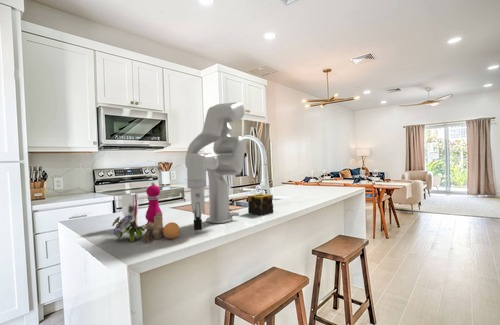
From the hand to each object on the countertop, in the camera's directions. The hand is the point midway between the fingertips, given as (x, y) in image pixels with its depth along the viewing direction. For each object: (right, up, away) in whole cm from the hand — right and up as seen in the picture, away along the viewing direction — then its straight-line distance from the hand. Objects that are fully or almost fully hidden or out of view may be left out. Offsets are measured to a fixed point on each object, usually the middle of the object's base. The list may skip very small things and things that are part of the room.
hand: (197, 229), depth 105 cm
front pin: (-11, -1, -3) cm, 11 cm away
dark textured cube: (+27, -1, +38) cm, 46 cm away
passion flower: (-25, -2, -6) cm, 26 cm away
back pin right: (-15, -2, -1) cm, 15 cm away
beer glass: (-33, -2, +12) cm, 35 cm away
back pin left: (-14, -2, -6) cm, 15 cm away
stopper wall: (-18, -2, -4) cm, 19 cm away
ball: (-9, +1, -6) cm, 11 cm away
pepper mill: (-23, -2, +15) cm, 27 cm away
